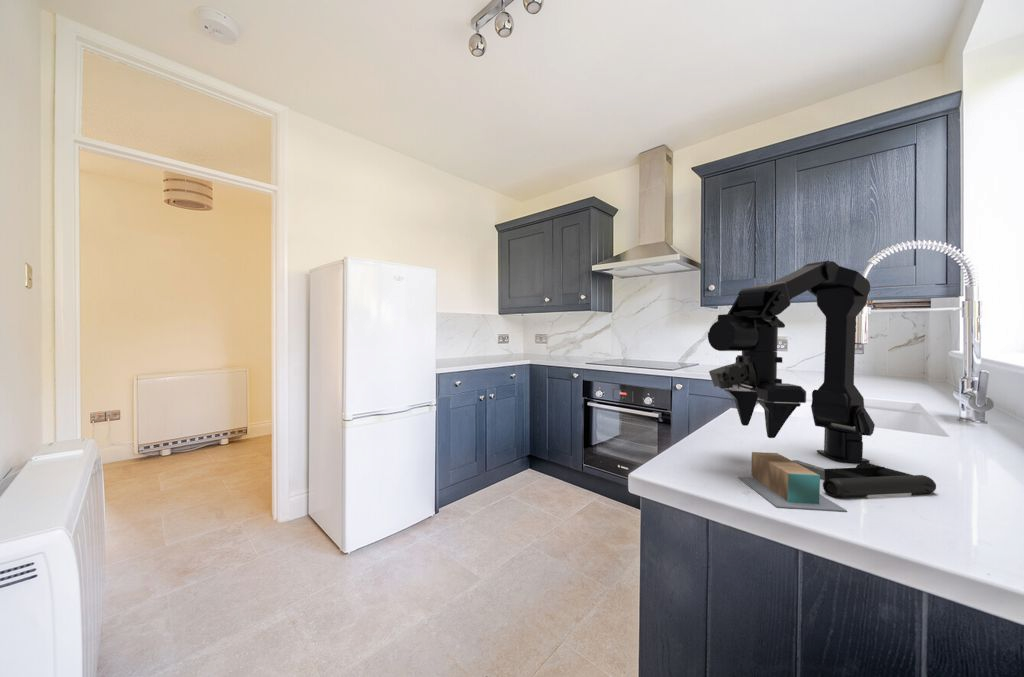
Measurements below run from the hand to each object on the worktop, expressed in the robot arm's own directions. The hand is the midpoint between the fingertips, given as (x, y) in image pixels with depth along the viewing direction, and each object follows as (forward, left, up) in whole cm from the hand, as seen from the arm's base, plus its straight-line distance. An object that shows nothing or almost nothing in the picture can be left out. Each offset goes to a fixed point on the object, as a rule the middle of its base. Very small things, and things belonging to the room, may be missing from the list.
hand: (757, 431), depth 72 cm
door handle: (+2, +15, -9) cm, 17 cm away
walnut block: (+3, 0, -6) cm, 6 cm away
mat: (+10, 0, -8) cm, 12 cm away
